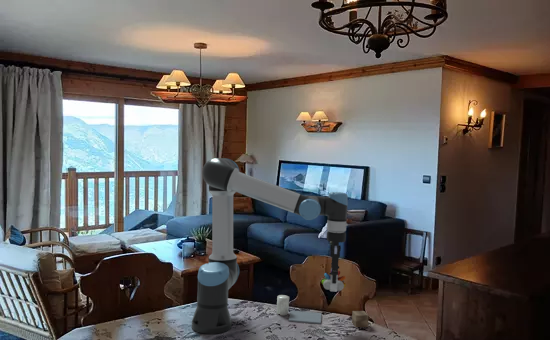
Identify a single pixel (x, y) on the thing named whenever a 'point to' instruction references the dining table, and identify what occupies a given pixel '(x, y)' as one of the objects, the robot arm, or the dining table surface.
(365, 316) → the walnut block
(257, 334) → the dining table surface
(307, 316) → the felt mat
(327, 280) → the rainbow wheeled toy
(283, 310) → the white glossy rounded part
